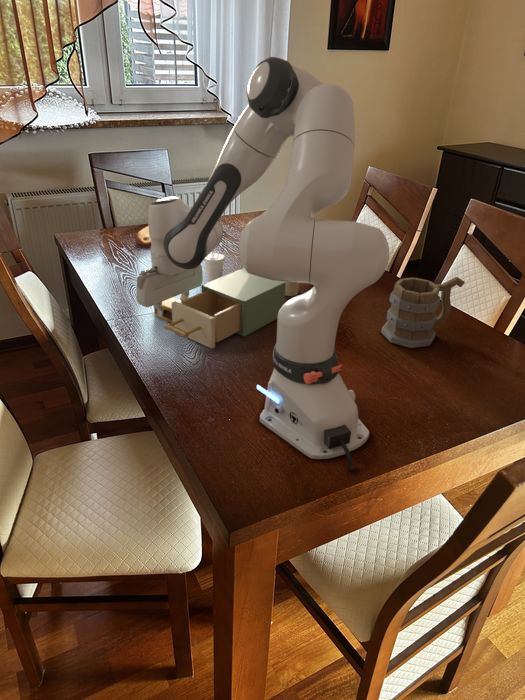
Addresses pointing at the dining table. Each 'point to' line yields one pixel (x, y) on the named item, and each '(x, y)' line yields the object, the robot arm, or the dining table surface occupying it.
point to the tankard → (417, 311)
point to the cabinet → (251, 297)
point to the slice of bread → (144, 237)
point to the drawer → (206, 318)
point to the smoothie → (214, 265)
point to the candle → (291, 288)
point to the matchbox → (167, 309)
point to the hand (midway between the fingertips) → (172, 310)
